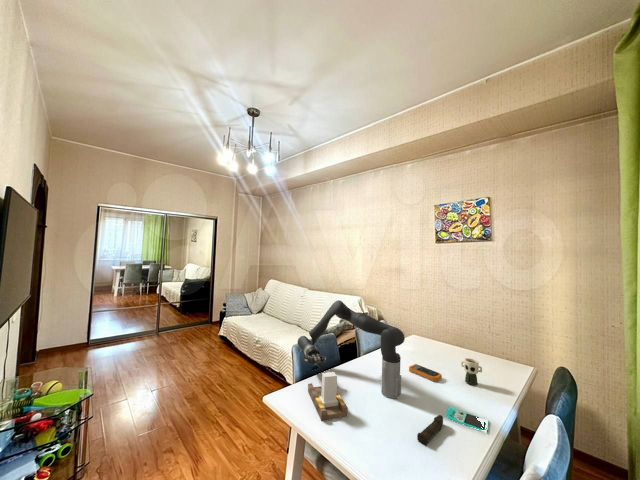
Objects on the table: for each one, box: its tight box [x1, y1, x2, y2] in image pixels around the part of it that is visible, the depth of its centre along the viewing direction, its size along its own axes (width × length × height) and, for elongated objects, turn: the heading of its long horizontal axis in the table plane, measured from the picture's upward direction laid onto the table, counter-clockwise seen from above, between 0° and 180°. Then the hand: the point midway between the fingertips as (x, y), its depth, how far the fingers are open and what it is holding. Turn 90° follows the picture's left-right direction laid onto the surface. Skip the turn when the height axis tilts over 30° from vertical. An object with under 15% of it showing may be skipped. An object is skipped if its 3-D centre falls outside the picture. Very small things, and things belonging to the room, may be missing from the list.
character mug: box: [460, 357, 483, 386], centre depth 150 cm, size 11×7×13 cm, turn 43°
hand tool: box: [416, 414, 444, 446], centre depth 106 cm, size 19×4×5 cm, turn 130°
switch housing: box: [307, 382, 349, 422], centre depth 124 cm, size 24×12×4 cm, turn 16°
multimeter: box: [408, 363, 443, 383], centre depth 159 cm, size 9×18×3 cm, turn 39°
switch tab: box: [319, 371, 338, 407], centre depth 121 cm, size 6×7×13 cm
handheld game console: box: [446, 406, 487, 430], centre depth 116 cm, size 10×16×1 cm, turn 53°
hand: (320, 365), depth 136 cm, fingers closed
